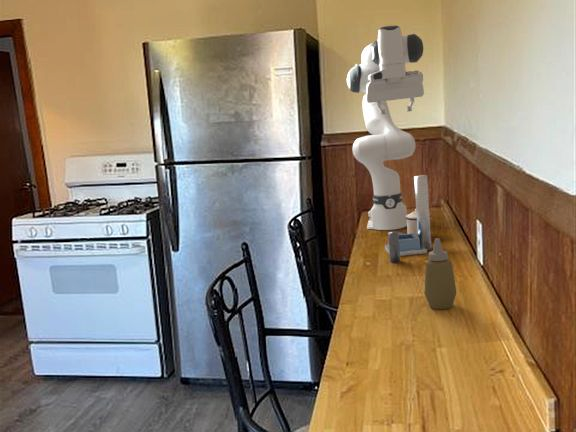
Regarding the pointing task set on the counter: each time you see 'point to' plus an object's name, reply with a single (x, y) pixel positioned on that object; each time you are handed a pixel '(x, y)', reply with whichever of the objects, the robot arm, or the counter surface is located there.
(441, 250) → the squeeze bottle
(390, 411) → the counter surface
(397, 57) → the robot arm
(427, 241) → the box with upright lever
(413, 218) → the teacup with lid
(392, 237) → the dark grey rounded rod
